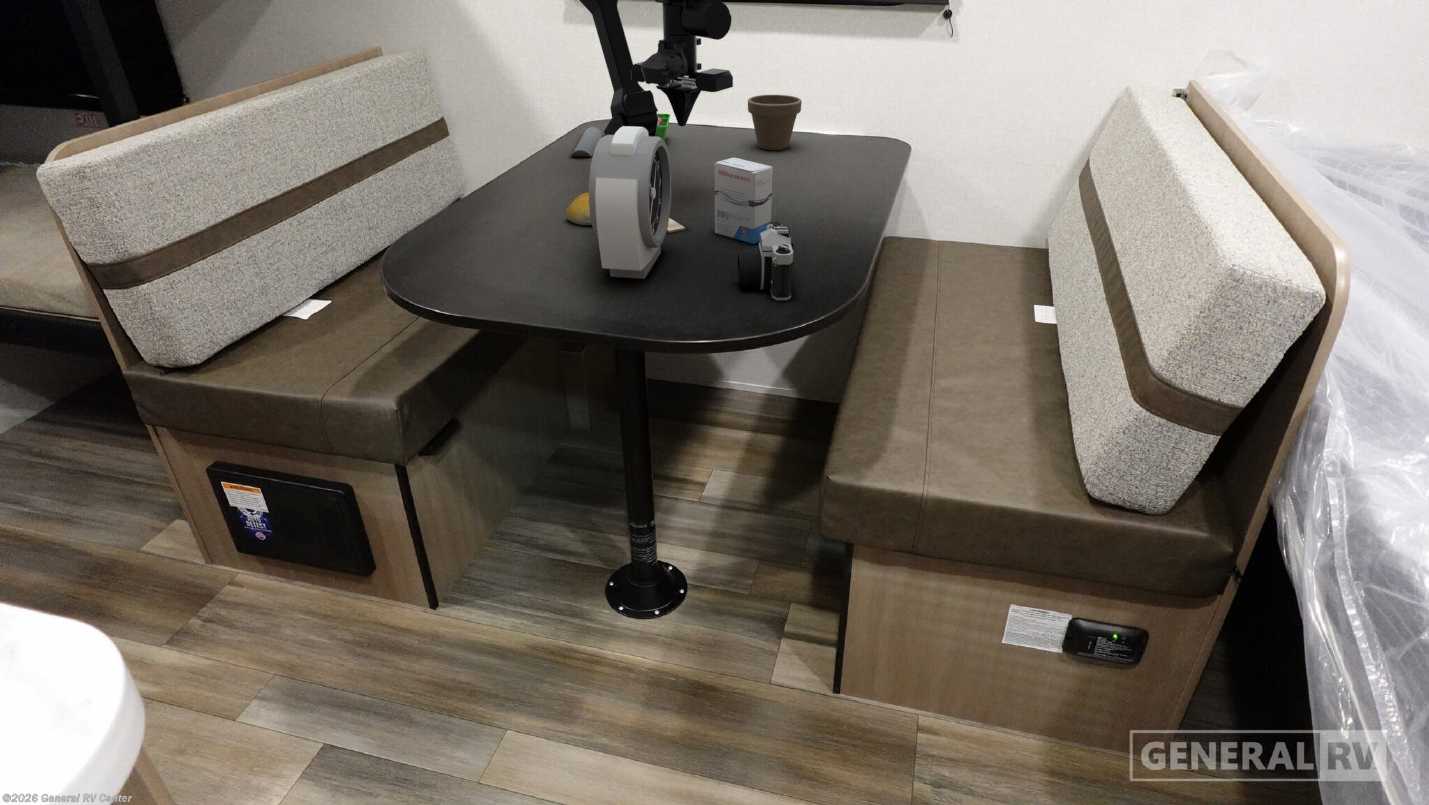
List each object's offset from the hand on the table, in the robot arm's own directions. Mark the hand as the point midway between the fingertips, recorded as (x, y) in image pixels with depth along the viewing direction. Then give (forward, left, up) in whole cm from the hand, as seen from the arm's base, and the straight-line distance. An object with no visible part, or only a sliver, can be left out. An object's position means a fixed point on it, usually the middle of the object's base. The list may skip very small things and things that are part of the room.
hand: (682, 125), depth 159 cm
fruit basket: (-27, +23, -12) cm, 38 cm away
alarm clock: (+16, -33, -12) cm, 39 cm away
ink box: (+22, -13, -12) cm, 29 cm away
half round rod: (-37, +13, -12) cm, 41 cm away
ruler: (+5, -15, -12) cm, 20 cm away
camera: (+36, -28, -12) cm, 47 cm away
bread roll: (-4, -21, -12) cm, 25 cm away
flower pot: (-3, +36, -12) cm, 38 cm away
